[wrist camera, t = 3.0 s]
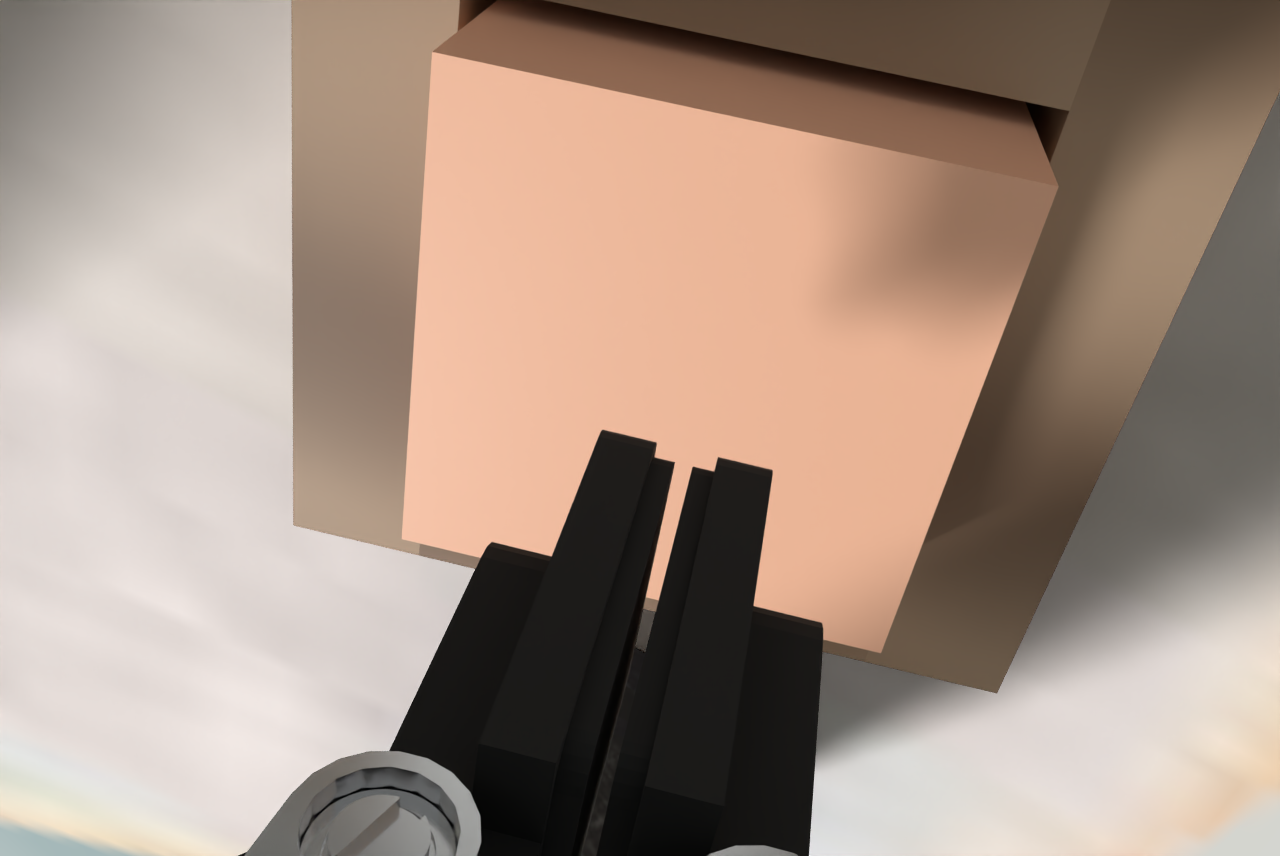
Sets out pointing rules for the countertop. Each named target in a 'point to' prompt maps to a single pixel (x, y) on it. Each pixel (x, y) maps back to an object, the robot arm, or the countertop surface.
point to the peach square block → (709, 289)
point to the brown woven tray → (870, 38)
